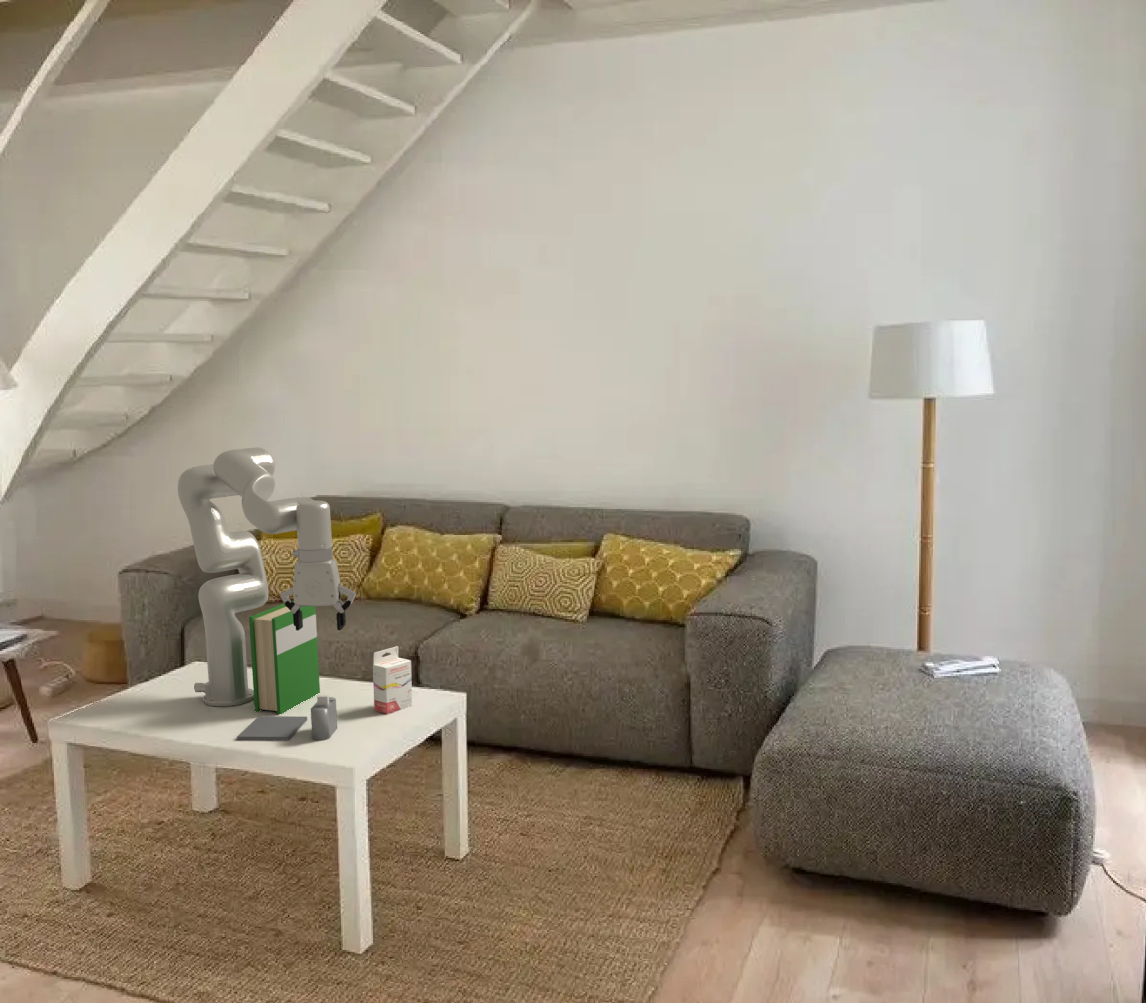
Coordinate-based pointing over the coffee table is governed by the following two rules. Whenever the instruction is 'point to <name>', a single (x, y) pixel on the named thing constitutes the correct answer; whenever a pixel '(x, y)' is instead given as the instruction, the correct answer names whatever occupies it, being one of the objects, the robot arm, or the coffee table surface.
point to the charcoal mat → (272, 728)
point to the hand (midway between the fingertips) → (320, 629)
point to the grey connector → (323, 718)
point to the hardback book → (283, 658)
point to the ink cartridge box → (391, 681)
